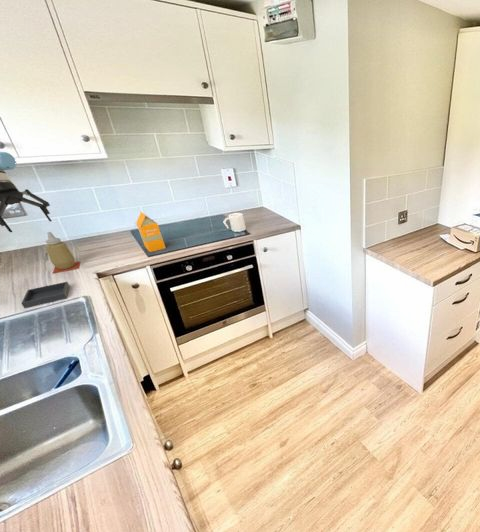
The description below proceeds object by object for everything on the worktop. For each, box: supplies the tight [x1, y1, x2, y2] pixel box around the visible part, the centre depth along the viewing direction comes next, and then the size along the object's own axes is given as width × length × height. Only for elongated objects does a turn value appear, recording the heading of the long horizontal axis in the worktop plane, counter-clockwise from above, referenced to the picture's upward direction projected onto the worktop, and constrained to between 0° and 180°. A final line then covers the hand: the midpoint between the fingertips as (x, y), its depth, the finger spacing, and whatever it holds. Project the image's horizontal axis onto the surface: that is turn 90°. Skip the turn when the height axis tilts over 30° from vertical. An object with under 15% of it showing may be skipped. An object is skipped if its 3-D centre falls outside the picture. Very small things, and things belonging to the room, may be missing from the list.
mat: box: [52, 261, 81, 274], centre depth 157 cm, size 9×9×1 cm
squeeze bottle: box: [45, 231, 76, 269], centre depth 152 cm, size 8×8×18 cm
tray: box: [21, 281, 71, 309], centre depth 134 cm, size 12×12×2 cm
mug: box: [222, 212, 247, 233], centre depth 204 cm, size 12×9×10 cm
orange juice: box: [135, 211, 166, 253], centre depth 175 cm, size 8×9×20 cm
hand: (30, 225), depth 149 cm, fingers open, 13 cm apart
